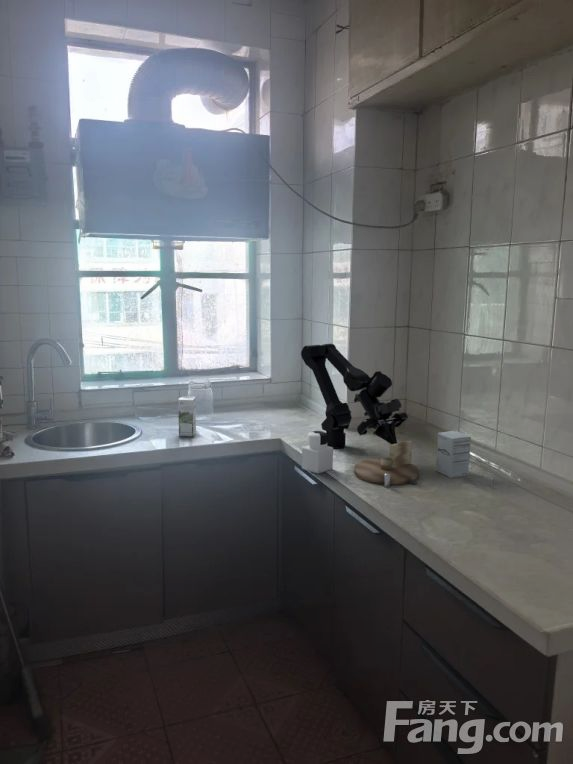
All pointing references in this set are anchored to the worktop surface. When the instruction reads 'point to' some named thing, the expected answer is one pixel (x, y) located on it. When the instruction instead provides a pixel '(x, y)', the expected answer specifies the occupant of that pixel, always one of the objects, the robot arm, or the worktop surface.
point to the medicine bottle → (317, 453)
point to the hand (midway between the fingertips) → (395, 445)
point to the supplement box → (453, 453)
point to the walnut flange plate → (379, 475)
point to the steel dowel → (387, 480)
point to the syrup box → (187, 416)
